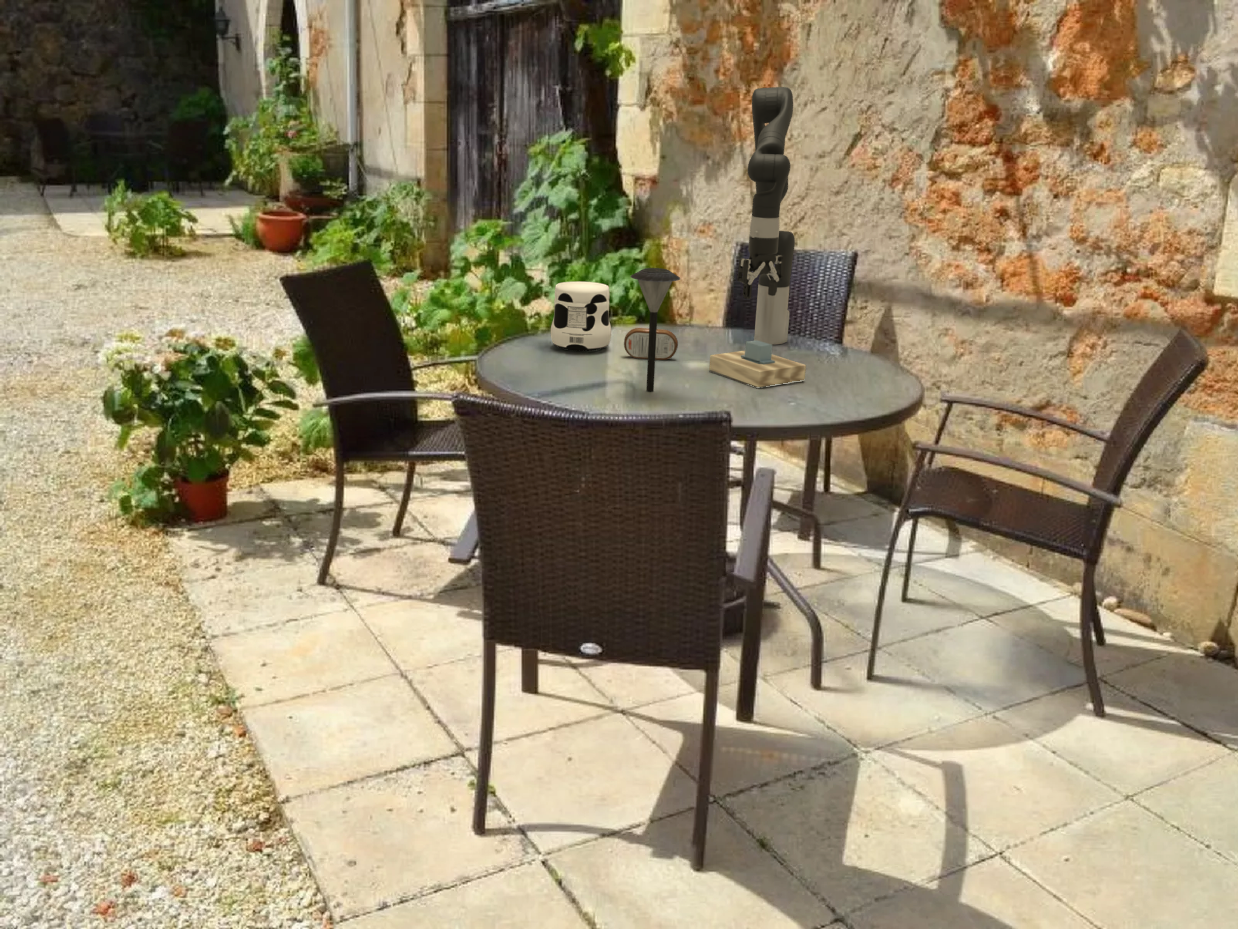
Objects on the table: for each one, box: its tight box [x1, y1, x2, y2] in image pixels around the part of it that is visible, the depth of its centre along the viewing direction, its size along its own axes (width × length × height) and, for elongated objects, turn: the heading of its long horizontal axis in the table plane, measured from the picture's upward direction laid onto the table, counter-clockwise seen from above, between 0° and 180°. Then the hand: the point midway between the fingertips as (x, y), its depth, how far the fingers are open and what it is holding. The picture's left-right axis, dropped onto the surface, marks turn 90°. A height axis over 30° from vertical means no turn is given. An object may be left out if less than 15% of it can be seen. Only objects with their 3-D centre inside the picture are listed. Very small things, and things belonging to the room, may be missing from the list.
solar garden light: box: [630, 267, 681, 393], centre depth 263 cm, size 12×12×30 cm
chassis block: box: [708, 350, 807, 388], centre depth 285 cm, size 16×20×4 cm
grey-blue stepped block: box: [741, 340, 775, 365], centre depth 284 cm, size 4×9×8 cm, turn 35°
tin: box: [623, 327, 679, 361], centre depth 299 cm, size 15×3×8 cm, turn 84°
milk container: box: [550, 280, 612, 353], centre depth 307 cm, size 17×17×18 cm
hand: (759, 296), depth 282 cm, fingers open, 8 cm apart
